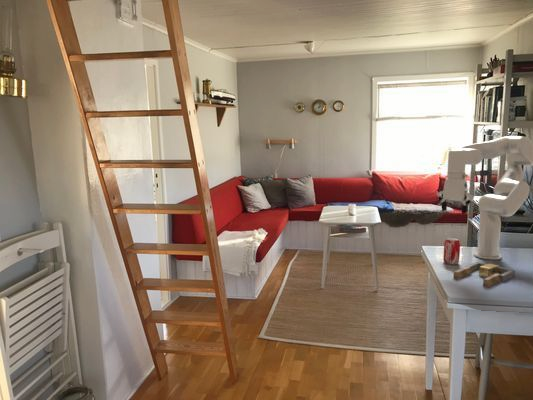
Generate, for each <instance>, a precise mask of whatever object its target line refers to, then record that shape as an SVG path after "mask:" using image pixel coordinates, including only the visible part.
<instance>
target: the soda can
mask: <svg viewBox="0 0 533 400" xmlns="http://www.w3.org/2000/svg"><path fill="white" fill-rule="evenodd" d="M460 253H461V242H460V238H456V237H445V240H444V243H443V256H442V259H443V262H444V263H445V264H447V265H451V266H453V265H458V264H459V263H460Z"/></svg>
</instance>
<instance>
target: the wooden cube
mask: <svg viewBox="0 0 533 400" xmlns="http://www.w3.org/2000/svg"><path fill="white" fill-rule="evenodd" d="M486 264H487V265H486V266H490V267H494V268H493V275H494V274H496V273H498V274H499V267H500V265H498V264H494V263H486Z"/></svg>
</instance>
